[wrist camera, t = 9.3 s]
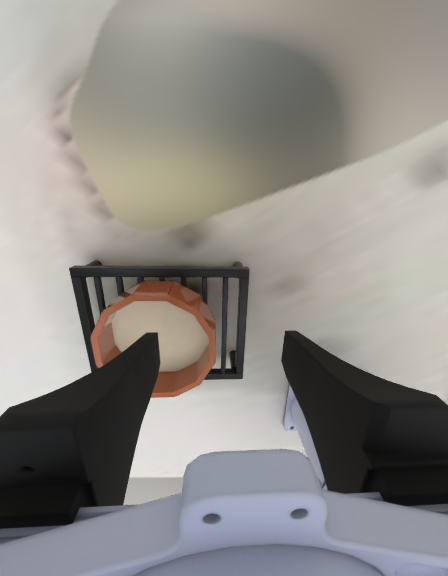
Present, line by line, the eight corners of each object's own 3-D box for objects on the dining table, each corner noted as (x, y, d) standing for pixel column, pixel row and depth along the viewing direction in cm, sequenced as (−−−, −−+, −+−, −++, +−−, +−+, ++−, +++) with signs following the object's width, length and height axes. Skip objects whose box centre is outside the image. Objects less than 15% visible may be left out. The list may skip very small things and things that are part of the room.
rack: (244, 260, 21) (249, 269, 18) (238, 358, 25) (242, 379, 22) (89, 258, 21) (68, 268, 18) (107, 360, 24) (93, 382, 21)
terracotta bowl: (215, 281, 19) (216, 294, 16) (214, 371, 22) (215, 396, 19) (101, 280, 18) (81, 294, 15) (116, 373, 21) (102, 399, 18)
